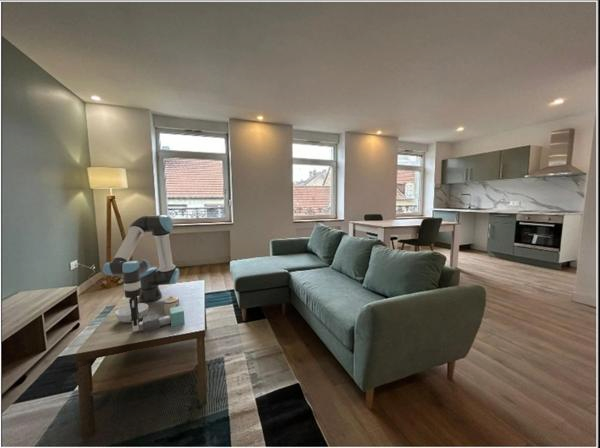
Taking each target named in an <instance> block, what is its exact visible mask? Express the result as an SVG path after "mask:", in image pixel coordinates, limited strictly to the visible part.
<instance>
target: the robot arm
mask: <svg viewBox="0 0 600 448" xmlns="http://www.w3.org/2000/svg"><path fill="white" fill-rule="evenodd" d="M173 226H174V224H173V220H172V218H171V217H170V216H169V215H163V214H158V215H144V216H143V215H142V216H141V217H139V218H136V220H134V221H133V222H132V223H130V225H129V226H128V229H127V234H126V236H125V238H124V239H123V241H122V243H121V245H120V247H119V248H118V250H117V252H116V253H115V256H114V257H113V258H112V260H111V261H108V262H106V263H104V265H103V267H102V272H103V273H104V275H106V276H119V275H122V277H123V284H122V287H123V289H124V297H125V298H126V299H129V300H128V303H129V304H128V305H130V308H131V317H132V319H131V320H130V321H132V322H131V327H132V326H133V331H137V330H139V325H138V318H137V311H138V303H145V304H147V303H152V302H156V301H157V300H160V299H161V298H162V296H163V294H162V291H161V290H160V286H162V285H163V286H164V285H165V286H166V285H174V284H175V285H176V284H177V282H178V281H179V277H180V269H179V268H176V264H174V263H173V255H172V249H171V248H172V247H171V242H170V234H171V233H172V231H173V228H174V227H173ZM145 233H151V235H152V236H153V237H154V238H155V244H156V250H157V251H156V252H157V257H158V260H159V261H158V263H159V267H156V266H153V267H151V263H150V261H149V260H148V259H145V258H143V259H138V260H130V259H131V256H132V254H133V253H134V251H135V249H136V247H137V244H138V242H139V241H140V239H141V237H144V234H145ZM139 315H140V313H139ZM137 332H138V331H137Z"/></svg>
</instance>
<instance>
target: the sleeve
mask: <svg viewBox="0 0 600 448" xmlns="http://www.w3.org/2000/svg"><path fill="white" fill-rule="evenodd" d="M159 317H160V314H159V313H157V314H156V313H155V314H153V315H148V316H147V315H146V316H144V317H143V318H142V321H143V330H142V331H143V334H145V333H149V332H154V331H157V330H160V329H161V328H160V327H161V326H160V324H159Z"/></svg>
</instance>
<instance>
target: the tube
mask: <svg viewBox="0 0 600 448" xmlns="http://www.w3.org/2000/svg"><path fill="white" fill-rule="evenodd" d="M137 318H138V325H139V330H137V331H133V326H132V325H131V331H132V334H133V333H137V332H141V331H143V320H142V321H140V319H139V312H138V311H137ZM131 319H132V317H131ZM159 324H160V327H162V326H164V325H165V326H166V325H169V324H171V315H164V316H159Z"/></svg>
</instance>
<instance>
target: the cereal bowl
mask: <svg viewBox="0 0 600 448" xmlns="http://www.w3.org/2000/svg"><path fill="white" fill-rule="evenodd" d="M138 312H139V313H140V315H139V320H141V319H143V317H146V316H147V314H148V312H149V305H148V303H142V302H138ZM115 317H116V319H117V320H118V321H119V322H122V323H132V321H130V320H131V308H130V304H127V305H126V306H125V305H124V306H122V307H121V308H119V309H117V310H116V311H115Z"/></svg>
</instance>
